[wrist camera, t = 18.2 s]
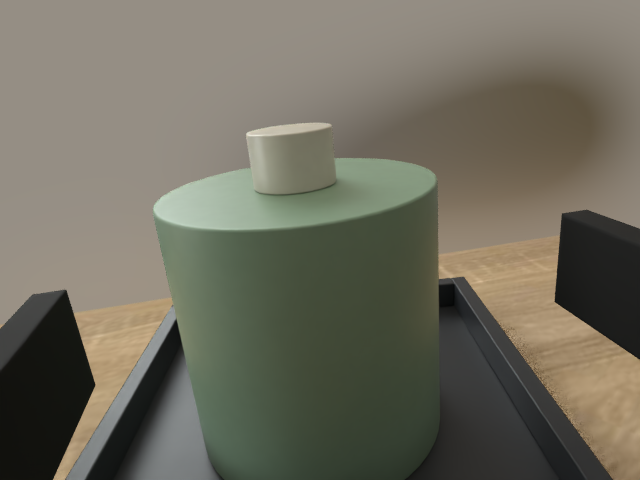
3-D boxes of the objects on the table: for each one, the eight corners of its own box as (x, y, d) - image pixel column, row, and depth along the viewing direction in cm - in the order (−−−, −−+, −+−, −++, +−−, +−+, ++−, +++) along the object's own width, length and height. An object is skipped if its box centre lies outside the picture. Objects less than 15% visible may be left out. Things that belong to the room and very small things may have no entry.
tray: (463, 307, 29) (464, 276, 28) (670, 631, 12) (683, 573, 11) (180, 332, 29) (173, 302, 28) (-1, 679, 12) (-29, 628, 12)
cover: (413, 337, 25) (406, 105, 21) (473, 499, 15) (481, 130, 11) (227, 354, 25) (184, 127, 21) (174, 522, 16) (79, 170, 12)
